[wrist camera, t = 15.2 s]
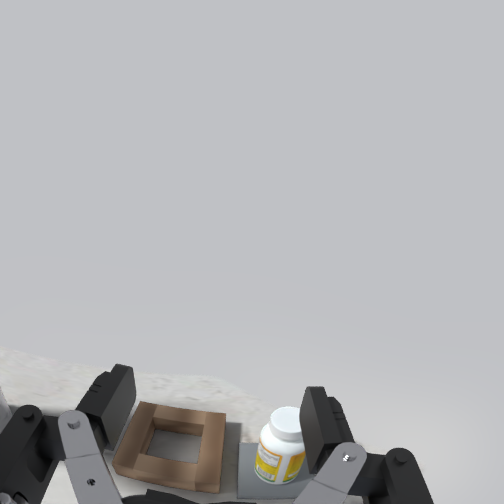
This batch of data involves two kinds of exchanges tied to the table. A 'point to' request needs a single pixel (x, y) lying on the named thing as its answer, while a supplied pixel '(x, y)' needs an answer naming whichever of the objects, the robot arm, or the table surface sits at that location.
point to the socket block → (164, 470)
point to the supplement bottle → (280, 447)
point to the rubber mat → (259, 489)
